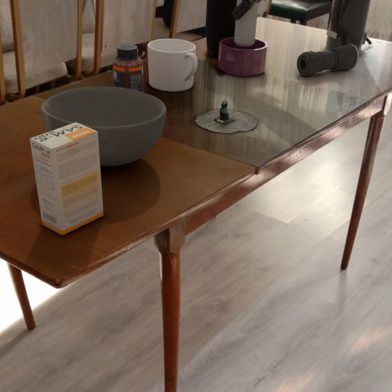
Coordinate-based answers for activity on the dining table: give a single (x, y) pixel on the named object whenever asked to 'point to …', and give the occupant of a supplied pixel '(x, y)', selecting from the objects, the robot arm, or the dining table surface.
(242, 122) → the sculpture
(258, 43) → the plum bowl
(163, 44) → the mug
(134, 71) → the supplement bottle
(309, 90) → the dining table surface
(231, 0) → the portable speaker
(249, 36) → the beverage can
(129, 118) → the bowl
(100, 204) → the supplement box
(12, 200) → the dining table surface
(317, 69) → the flashlight
